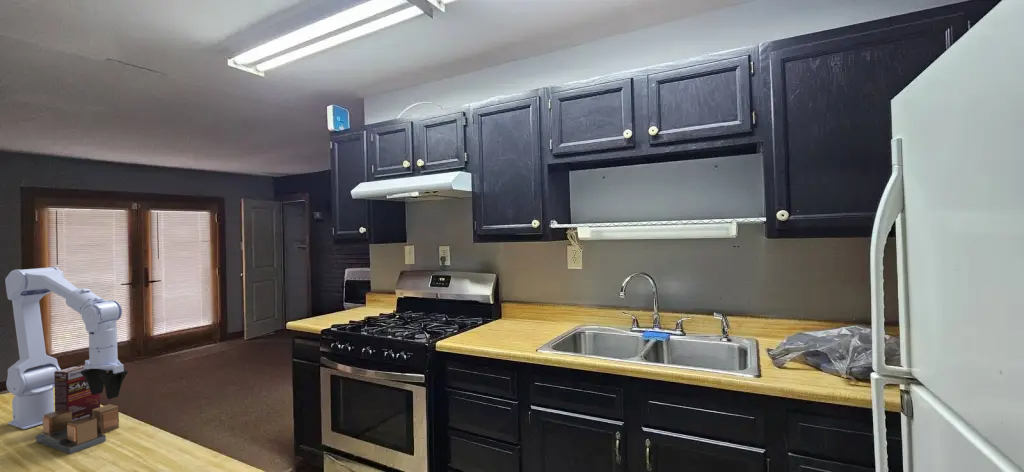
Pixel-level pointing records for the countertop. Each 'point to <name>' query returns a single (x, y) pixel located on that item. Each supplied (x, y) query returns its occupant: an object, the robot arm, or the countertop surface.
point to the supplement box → (74, 393)
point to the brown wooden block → (106, 418)
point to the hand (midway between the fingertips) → (104, 395)
